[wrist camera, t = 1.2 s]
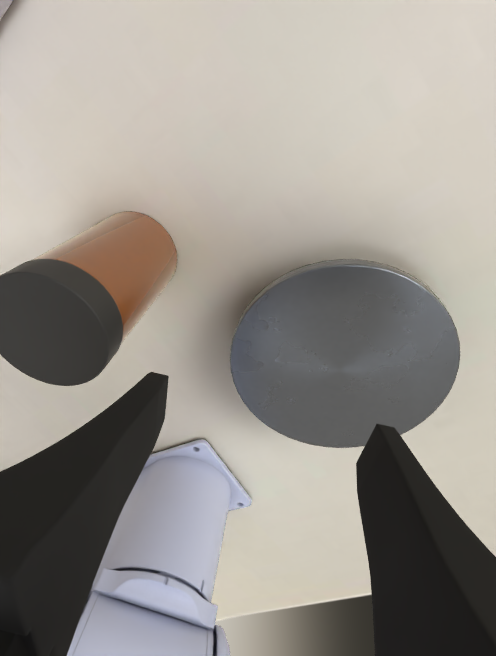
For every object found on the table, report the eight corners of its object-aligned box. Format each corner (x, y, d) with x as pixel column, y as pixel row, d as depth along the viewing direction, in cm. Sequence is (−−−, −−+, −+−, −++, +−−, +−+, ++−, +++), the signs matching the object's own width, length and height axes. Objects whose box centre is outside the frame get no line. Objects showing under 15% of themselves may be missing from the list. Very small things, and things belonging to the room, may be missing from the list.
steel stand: (288, 432, 27) (286, 466, 24) (202, 297, 22) (188, 321, 20) (464, 382, 23) (484, 416, 20) (404, 203, 18) (421, 219, 16)
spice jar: (129, 304, 23) (43, 400, 16) (78, 234, 21) (-49, 305, 14) (194, 272, 22) (134, 362, 14) (145, 193, 20) (44, 248, 12)
